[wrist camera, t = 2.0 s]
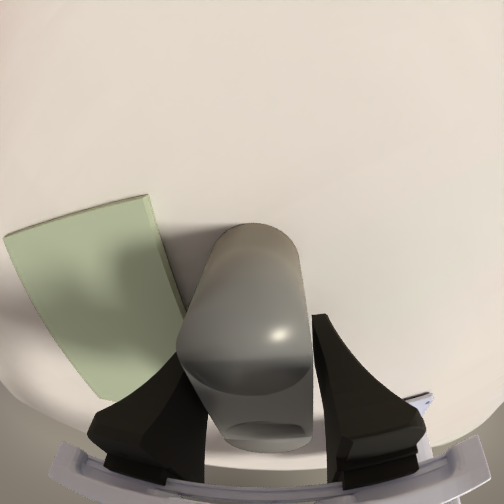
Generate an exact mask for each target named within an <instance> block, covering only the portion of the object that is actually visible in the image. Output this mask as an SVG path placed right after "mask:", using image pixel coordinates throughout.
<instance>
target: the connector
mask: <svg viewBox="0 0 504 504" xmlns="http://www.w3.org/2000/svg"><path fill="white" fill-rule="evenodd" d="M176 352H177V356H178V358H179V361H180V363H181V365H182V367H183V368H184V370H185V372H186V374H187V376H188V378H189V380H190V382H191V383H192V385H193V387H194V389H195V391H196V393H197V394H198V396H199V398H200V400H201V401H202V403H203V405H204V407H205V408H206V410H207V412H208V413H209V415H210V417H211V418H212V420H213V422H214V423H215V425H216V426H217V428H218V430H219V431H220V433H221V434H222V436H223V437H224V439H225V440H226V441H227V442H228V443H229V444H231V445H232V446H234V447H237V448H239V449H243V450H246V451H251V452H258V453H280V452H287V451H292V450H295V449H298V448H301V447H303V446H305V445H307V444H308V443H309V442H310V441H311V439H312V432H313V351H312V343H311V335H310V327H309V320H308V313H307V306H306V299H305V292H304V286H303V279H302V273H301V267H300V260H299V255H298V252H297V249H296V247H295V245H294V244H293V242H292V241H291V239H290V238H289V237H288V236H287V235H285V234H284V233H283V232H281V231H280V230H278V229H276V228H274V227H272V226H269V225H265V224H260V223H247V224H242V225H239V226H236V227H233V228H231V229H229V230H228V231H226V232H225V233H224V234H223V235H222V236H221V237H220V238H219V239H218V240H217V242H216V243H215V245H214V247H213V250H212V252H211V254H210V257H209V259H208V261H207V264H206V266H205V269H204V271H203V273H202V276H201V278H200V281H199V283H198V286H197V288H196V291H195V293H194V296H193V298H192V300H191V303H190V305H189V308H188V311H187V313H186V316H185V318H184V321H183V323H182V326H181V328H180V331H179V334H178V336H177V340H176Z"/></svg>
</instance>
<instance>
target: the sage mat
mask: <svg viewBox="0 0 504 504" xmlns="http://www.w3.org/2000/svg"><path fill="white" fill-rule="evenodd" d="M3 241H4V244H5V246H6V249H7V251H8V253H9V256H10V258H11V260H12V263H13V265H14V267H15V269H16V272H17V274H18V276H19V278H20V280H21V282H22V284H23V286H24V288H25V290H26V292H27V294H28V296H29V298H30V299H31V301H32V303H33V305H34V307H35V309H36V310H37V312H38V314H39V315H40V317H41V319H42V321H43V322H44V324H45V325H46V327H47V329H48V330H49V332H50V333H51V335H52V337H53V338H54V340H55V341H56V343H57V344H58V346H59V347H60V348H61V350H62V351H63V353H64V354H65V356H66V357H67V358H68V360H69V361H70V362H71V364H72V365H73V366H74V368H75V369H76V370H77V372H78V373H79V374H80V376H81V377H82V378H83V379H84V381H85V382H86V383H87V384H88V386H89V387H90V388H91V389H92V390H93V392H94V393H95V394H96V395H97V396H98V397H99V398H100V399H105V400H109V401H114V402H118V401H120V400H122V399H123V398H125V397H126V396H128V395H129V394H131V393H132V392H134V391H135V390H136V389H138V388H139V387H140V386H142V385H143V384H144V383H145V382H147V381H148V380H149V379H150V378H151V377H152V376H153V375H154V374H156V373H157V372H158V371H159V370H160V369H161V368H162V367H163V365H164V364H165V363H166V362H167V361H168V360H169V359H170V358H171V357H172V355H173V354H174V353H175V352H176V340H177V336H178V334H179V331H180V328H181V326H182V323H183V321H184V318H185V316H186V310H185V308H184V305H183V302H182V300H181V297H180V294H179V291H178V288H177V286H176V283H175V280H174V277H173V274H172V271H171V268H170V265H169V262H168V259H167V256H166V253H165V250H164V247H163V243H162V240H161V237H160V234H159V230H158V227H157V224H156V220H155V217H154V213H153V210H152V206H151V203H150V199H149V195H148V194H147V195H142V196H138V197H134V198H129V199H125V200H121V201H117V202H113V203H109V204H105V205H101V206H98V207H94V208H90V209H87V210H83V211H80V212H76V213H73V214H69V215H66V216H63V217H59V218H56V219H53V220H50V221H46V222H43V223H40V224H37V225H34V226H31V227H28V228H25V229H23V230H20V231H17V232H14V233H11V234H9V235H7V236H5V237H4V238H3Z"/></svg>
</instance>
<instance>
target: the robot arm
mask: <svg viewBox="0 0 504 504" xmlns="http://www.w3.org/2000/svg"><path fill="white" fill-rule="evenodd" d="M312 334H313V352H314V362H315V368H316V373H317V378H318V383H319V388H320V392H321V397H322V402H323V409H324V419H325V433H326V451H327V484H319V485H308V486H296V487H235V486H234V487H233V486H220V485H211V484H204V460H205V442H206V430H207V420H208V412H207V410H206V408H205V407H204V405H203V403H202V401H201V400H200V398H199V396H198V394H197V393H196V391H195V389H194V387H193V385H192V383H191V382H190V380H189V378H188V376H187V374H186V372H185V370H184V368H183V367H182V365H181V363H180V361H179V358H178V356H177V352H175V353H174V354H173V355H172V357H171V358H170V359H169V360H168V361H167V362H166V363H165V364H164V365H163V367H162V368H161V369H160V370H159V371H158V372H157V373H156V374H154V375H153V376H152V377H151V378H150V379H149V380H148V381H147V382H145V383H144V384H143V385H142V386H140V387H139V388H138V389H136V390H135V391H134V392H132V393H131V394H129V395H128V396H126V397H125V398H123V399H122V400H120V401H118V402H117V403H115V404H113V405H111V406H109V407H107V408H105V409H103V410H101V411H99V412H97V413H96V414H95V416H94V418H93V421H92V423H91V425H90V427H89V430H88V432H87V435H88V438H89V439H90V440H91V441H92V442H93V443H94V444H96V445H97V446H98V447H100V448H101V449H102V450H104V451H105V452H106V453H107V456H106V459H105V461H104V460H101V459H98V458H95V457H92V456H90V455H88V454H87V453H86V452H85V451H83V450H82V449H80V448H78V447H77V446H74V445H72V444H70V443H67V442H65V441H62V442H61V444H60V446H59V449H58V451H57V453H56V455H55V458H54V460H53V463H52V465H51V467H50V470H49V472H48V477H50V478H52V479H53V480H55V481H57V482H58V483H60V484H62V485H64V486H65V487H67V488H69V489H71V490H73V491H74V492H76V493H78V494H81V495H82V496H84V497H87V498H89V499H91V500H93V501H95V502H98V503H100V504H213V503H204V502H198V501H191V500H186V499H184V498H183V497H181V496H187V497H193V498H200V499H207V500H215V501H225V502H238V503H298V502H311V501H316V502H315V503H314V504H461V502H460V498H459V497H460V496H462V495H464V494H466V493H468V492H470V491H472V490H474V489H475V488H477V487H479V486H480V485H482V484H484V483H485V482H487V481H489V480H490V479H491V475H490V471H489V468H488V464H487V461H486V457H485V454H484V451H483V448H482V445H481V442H480V439H479V436H478V435H477V434H476V435H474V436H472V437H470V438H467V439H465V440H463V441H461V442H459V443H457V444H455V445H453V446H452V447H451V448H449V449H448V450H447V452H446V453H443V454H441V455H438V456H436V457H433V454H432V450H431V446H430V442H429V439H428V435H427V432H426V426H425V423H424V420H423V418H422V416H423V415H424V413H425V412H426V410H427V409H428V407H429V405H430V404H431V402H432V400H433V399H434V395H433V393H430V394H426V395H423V396H420V397H416V398H413V399H409V400H405V401H404V400H403V399H401V398H400V397H398V396H397V395H395V394H394V393H393V392H391V391H390V390H389V389H387V388H386V387H385V386H384V385H383V384H381V383H380V382H379V381H378V380H377V379H375V378H374V377H373V376H372V375H371V374H370V373H369V372H368V371H367V370H366V369H365V368H364V367H363V366H362V365H361V363H360V362H359V361H358V360H357V359H356V358H355V356H354V355H353V354H352V353H351V352H350V350H349V349H348V348H347V346H346V345H345V344H344V342H343V341H342V339H341V338H340V336H339V335H338V333H337V332H336V330H335V329H334V327H333V325H332V323H331V322H330V320H329V318H328V315H326V314H317V315H312ZM174 494H177V495H174ZM178 495H181V496H178Z"/></svg>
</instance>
